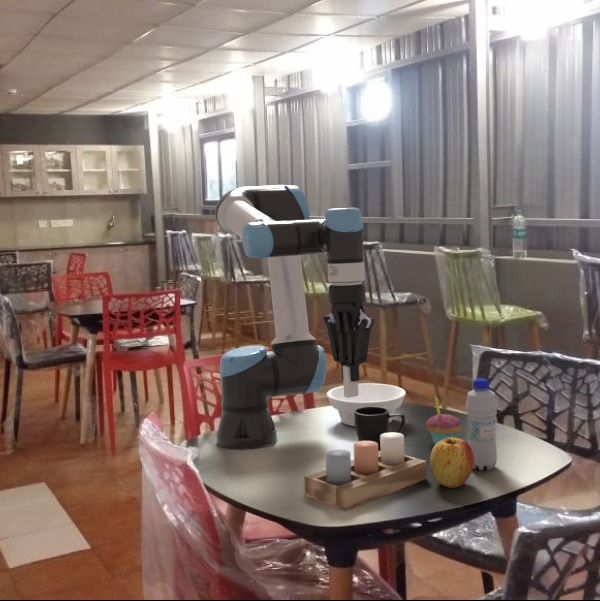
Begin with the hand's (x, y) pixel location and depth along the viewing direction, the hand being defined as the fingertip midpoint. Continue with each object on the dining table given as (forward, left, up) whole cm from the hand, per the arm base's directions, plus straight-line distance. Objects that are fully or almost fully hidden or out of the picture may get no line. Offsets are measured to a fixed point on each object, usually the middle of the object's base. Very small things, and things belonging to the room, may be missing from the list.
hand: (351, 396), depth 171 cm
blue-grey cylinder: (+3, -7, -16) cm, 18 cm away
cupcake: (-4, +35, -19) cm, 40 cm away
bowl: (-31, +36, -19) cm, 51 cm away
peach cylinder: (+3, +1, -16) cm, 16 cm away
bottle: (+13, +27, -19) cm, 35 cm away
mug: (-12, +21, -19) cm, 31 cm away
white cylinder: (+3, +9, -16) cm, 18 cm away
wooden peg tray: (+3, +1, -19) cm, 19 cm away
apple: (+15, +14, -19) cm, 28 cm away
